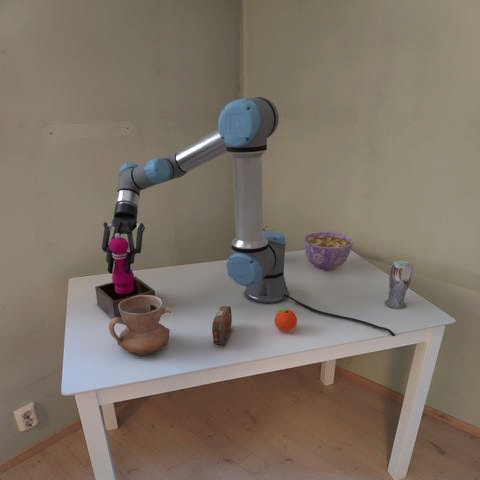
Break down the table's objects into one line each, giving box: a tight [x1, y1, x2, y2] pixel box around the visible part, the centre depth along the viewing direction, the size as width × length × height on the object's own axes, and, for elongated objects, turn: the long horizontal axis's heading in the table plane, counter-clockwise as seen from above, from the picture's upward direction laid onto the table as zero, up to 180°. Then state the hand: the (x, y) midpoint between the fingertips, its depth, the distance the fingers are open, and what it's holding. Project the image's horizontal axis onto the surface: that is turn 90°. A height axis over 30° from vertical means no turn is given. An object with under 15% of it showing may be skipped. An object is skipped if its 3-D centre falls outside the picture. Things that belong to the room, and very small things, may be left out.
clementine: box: [274, 308, 298, 333], centre depth 141 cm, size 8×7×7 cm
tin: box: [211, 305, 233, 346], centre depth 137 cm, size 15×3×8 cm, turn 168°
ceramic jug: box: [108, 295, 172, 356], centre depth 130 cm, size 18×14×14 cm
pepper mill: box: [108, 233, 135, 294], centre depth 148 cm, size 7×7×20 cm
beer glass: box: [385, 260, 414, 309], centre depth 154 cm, size 7×7×15 cm
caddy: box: [94, 275, 158, 320], centre depth 154 cm, size 15×15×7 cm
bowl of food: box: [303, 231, 354, 271], centre depth 186 cm, size 20×20×12 cm
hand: (118, 272), depth 146 cm, fingers closed on pepper mill, 5 cm apart
